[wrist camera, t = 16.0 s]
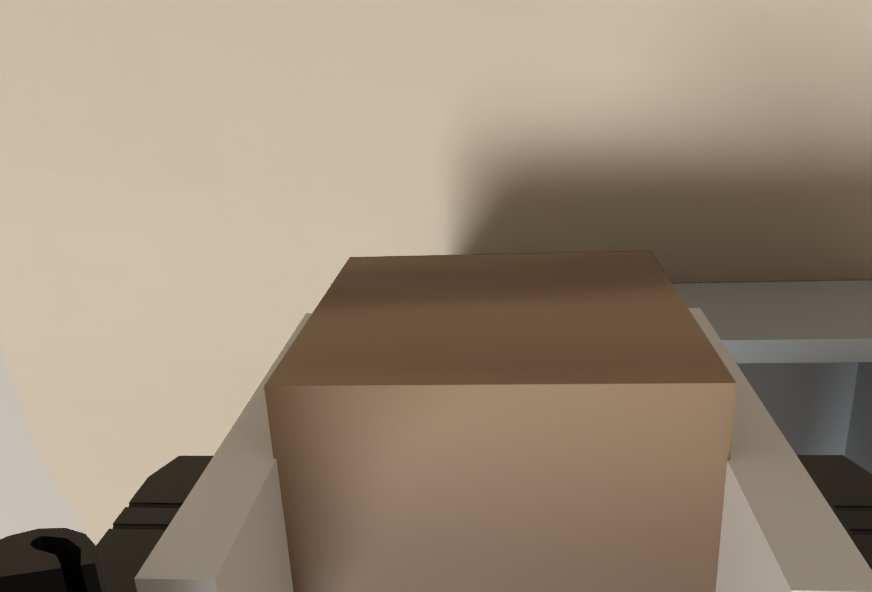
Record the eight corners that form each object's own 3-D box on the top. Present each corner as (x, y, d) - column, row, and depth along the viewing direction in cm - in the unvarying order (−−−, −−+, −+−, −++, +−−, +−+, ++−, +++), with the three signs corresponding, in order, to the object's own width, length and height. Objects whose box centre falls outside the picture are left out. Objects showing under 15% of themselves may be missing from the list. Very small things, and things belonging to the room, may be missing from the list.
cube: (349, 257, 13) (264, 385, 8) (650, 250, 13) (736, 383, 8) (371, 508, 15) (309, 734, 10) (639, 511, 14) (704, 749, 10)
